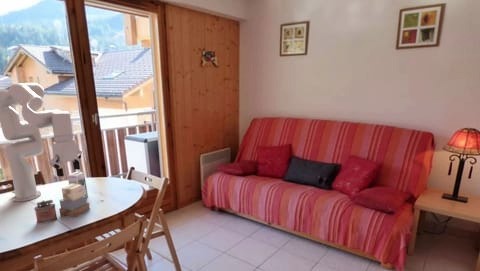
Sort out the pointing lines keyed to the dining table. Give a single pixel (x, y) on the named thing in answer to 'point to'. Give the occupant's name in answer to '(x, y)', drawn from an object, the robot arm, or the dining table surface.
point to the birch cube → (72, 192)
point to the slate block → (73, 203)
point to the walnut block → (74, 211)
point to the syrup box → (78, 181)
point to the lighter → (45, 212)
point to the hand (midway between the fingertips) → (69, 172)
